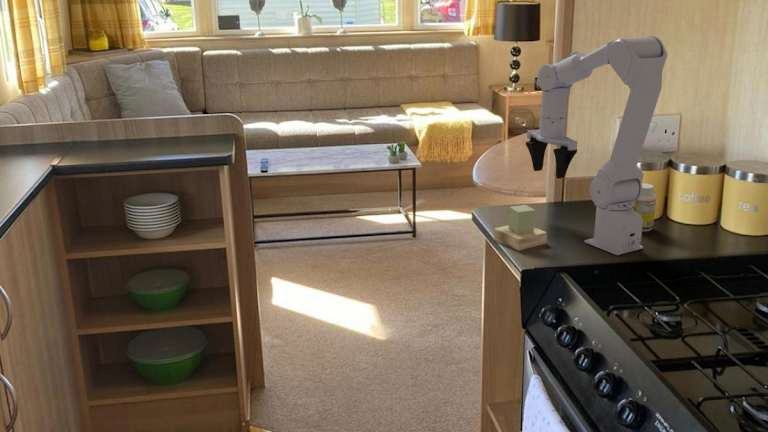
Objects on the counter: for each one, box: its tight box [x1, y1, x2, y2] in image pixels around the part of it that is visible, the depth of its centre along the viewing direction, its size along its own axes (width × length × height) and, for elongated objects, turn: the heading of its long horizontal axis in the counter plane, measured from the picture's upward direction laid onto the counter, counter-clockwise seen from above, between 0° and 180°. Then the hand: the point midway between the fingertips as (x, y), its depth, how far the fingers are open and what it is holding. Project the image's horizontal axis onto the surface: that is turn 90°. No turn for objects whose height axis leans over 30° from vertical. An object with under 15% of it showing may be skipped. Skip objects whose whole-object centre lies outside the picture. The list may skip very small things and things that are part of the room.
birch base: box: [493, 224, 548, 252], centre depth 172 cm, size 8×8×3 cm
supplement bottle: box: [632, 182, 657, 233], centre depth 179 cm, size 6×6×10 cm
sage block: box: [507, 204, 536, 234], centre depth 171 cm, size 4×4×5 cm
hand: (549, 174), depth 186 cm, fingers open, 7 cm apart
